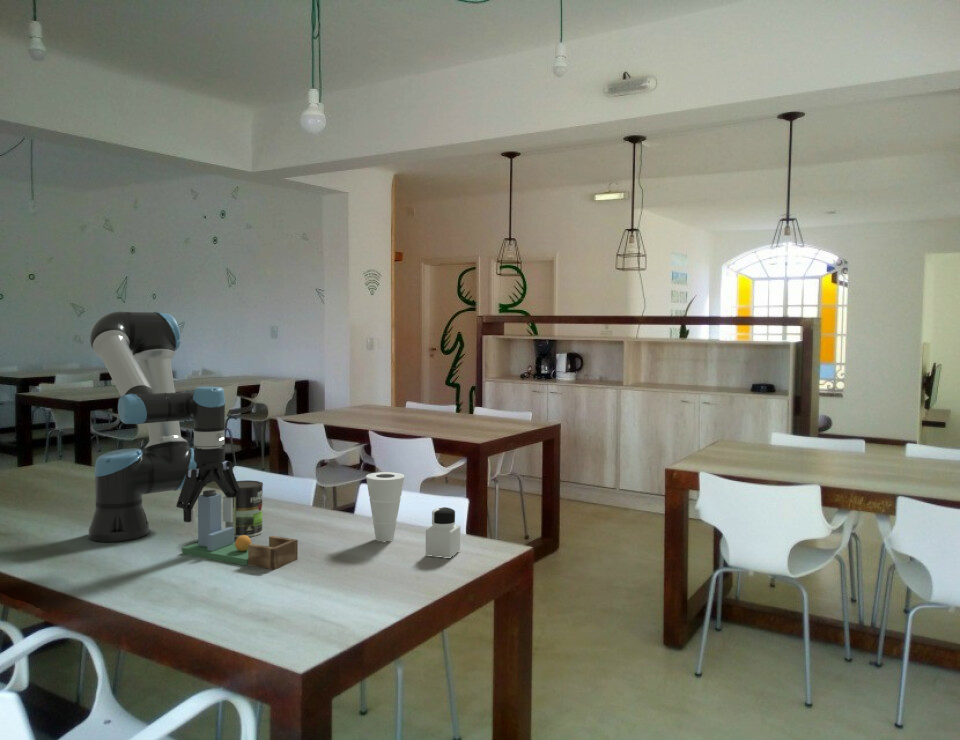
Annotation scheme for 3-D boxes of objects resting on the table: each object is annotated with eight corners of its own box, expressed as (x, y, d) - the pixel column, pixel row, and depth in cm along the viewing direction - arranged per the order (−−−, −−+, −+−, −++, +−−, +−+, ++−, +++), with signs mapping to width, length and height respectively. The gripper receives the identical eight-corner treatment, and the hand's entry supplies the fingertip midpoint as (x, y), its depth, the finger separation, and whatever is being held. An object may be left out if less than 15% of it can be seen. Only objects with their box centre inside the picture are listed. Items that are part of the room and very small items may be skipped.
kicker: (192, 547, 189) (192, 493, 188) (214, 539, 196) (214, 487, 195) (212, 550, 186) (212, 496, 185) (234, 542, 194) (234, 490, 193)
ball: (231, 552, 186) (231, 536, 186) (242, 547, 190) (242, 532, 190) (243, 554, 185) (243, 538, 185) (254, 549, 188) (254, 534, 188)
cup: (410, 537, 207) (411, 474, 206) (390, 547, 197) (391, 481, 196) (378, 532, 212) (379, 470, 210) (357, 542, 202) (358, 477, 201)
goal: (248, 564, 181) (248, 545, 181) (272, 554, 189) (272, 535, 189) (274, 569, 178) (274, 549, 178) (297, 559, 186) (297, 539, 186)
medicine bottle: (460, 551, 195) (461, 507, 194) (450, 559, 188) (451, 513, 188) (435, 548, 198) (436, 504, 197) (425, 556, 191) (425, 510, 190)
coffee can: (269, 529, 213) (269, 481, 212) (251, 539, 203) (251, 488, 202) (236, 526, 215) (236, 479, 214) (217, 536, 205) (217, 486, 204)
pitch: (182, 553, 189) (182, 547, 189) (210, 543, 198) (210, 537, 198) (246, 565, 181) (246, 559, 181) (273, 554, 190) (273, 548, 190)
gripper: (183, 455, 177) (184, 541, 179) (253, 441, 200) (253, 518, 201) (160, 452, 180) (161, 537, 182) (231, 438, 203) (231, 514, 204)
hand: (209, 527), depth 191 cm, fingers open, 13 cm apart
